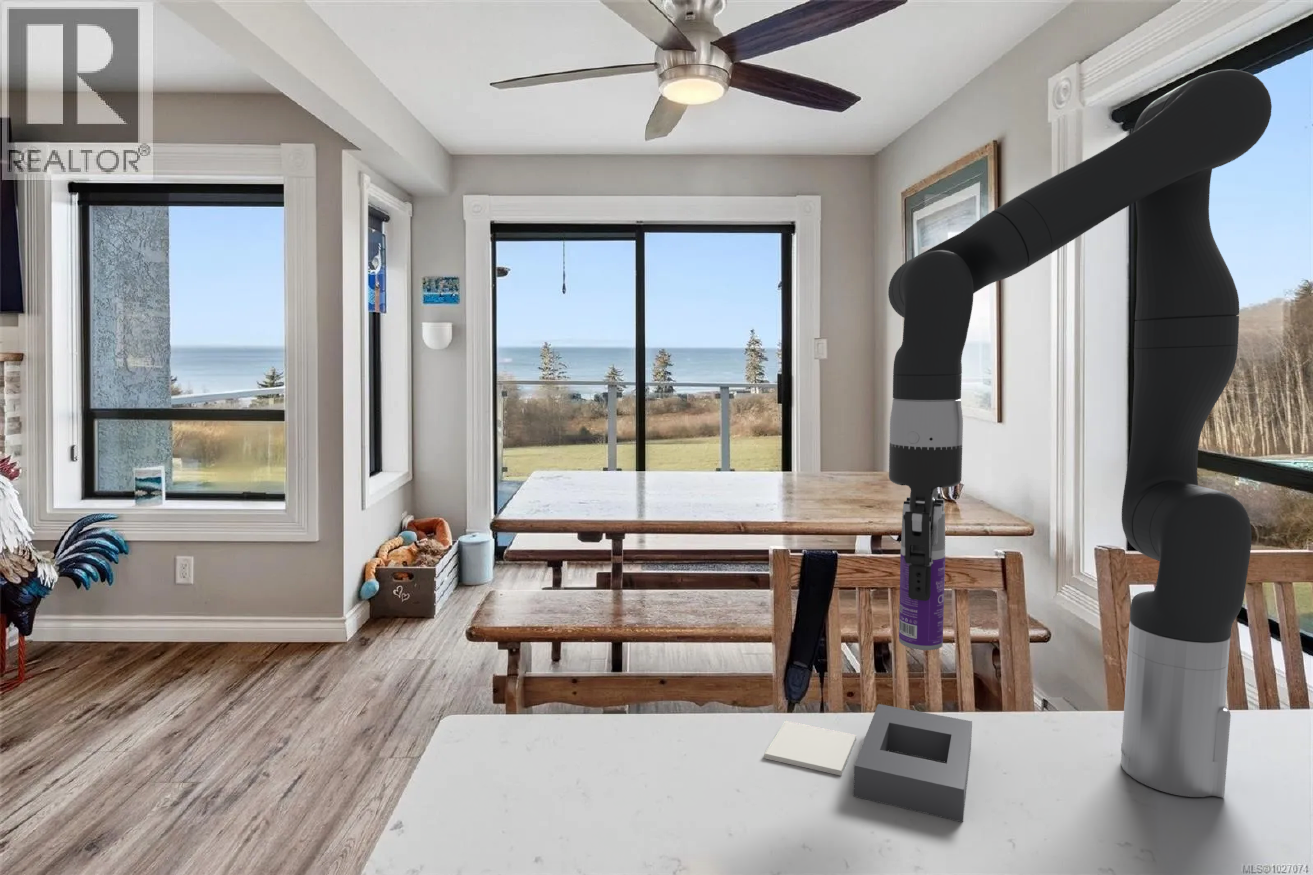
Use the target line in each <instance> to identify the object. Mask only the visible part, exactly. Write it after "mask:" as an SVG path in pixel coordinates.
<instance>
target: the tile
mask: <svg viewBox="0 0 1313 875" xmlns="http://www.w3.org/2000/svg"><path fill="white" fill-rule="evenodd" d="M856 741H857V734H853V733H849V732H845V731H839V730H833V729H829V728H823V727H819V726H814V725H809V724H804V723H800V722H795V721H790V720H784V722H783V724H782V725H781V727H780V728H779V730H778V732H777V733H776V735H775V737H774V738H773V740H772V741H771V743H770V745H769V746H768V747H767V749H766V750H765V752H764V759H767V760H771V761H776V762H780V763H784V764H788V765H792V766H797V767H801V768H807V769H811V770H814V771H819V772H824V773H828V774H831V775H832V774H833V775H836V776H842V775H843V773H844V771H845V767H846V765H847V763H848V760H849V758H850V756H851V754H852V751H853V748H854V746H855V743H856Z"/></svg>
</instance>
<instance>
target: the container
mask: <svg viewBox="0 0 1313 875" xmlns="http://www.w3.org/2000/svg"><path fill="white" fill-rule="evenodd" d="M901 517H902V518H901V520H902V521H901V537H900V538H901V541H900V565H899V571H900V572H899V611H898V612H899V613H898V614H899V615H898V617H899V618H898V620H899V621H898V623H899V624H898V641H899V643H900V644H901V645H902V646H905V647H907V648H910V649H913V650H919V651H935V650H939V649H940V648H942V647H943V645H944V644H943V643H944V616H945V615H944V614H945V613H944V612H945V611H944V610H945V609H944V608H945V585H946V584H945V582H946V581H945V578H946V574H945V573H946V512H945V510H944V511H942V518H941V519H940V520H939V534H938V544H937V545H935V546H934V547H933V554H932V559H933V564H932V567H931V594H930V598H929V600H927V601H922V600H914V599H911V598H910V597H909V595H908V590H909V565H908V564H907V563H905V560H904V555H905V540H904V527H905V520H904V515H903V513H902V516H901ZM933 517H934V515H933ZM932 534H933V524H932V530H931V535H932ZM913 553H924V554H925V548H924V547H923V546H918V545H914V552H913Z"/></svg>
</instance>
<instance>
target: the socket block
mask: <svg viewBox="0 0 1313 875" xmlns="http://www.w3.org/2000/svg"><path fill="white" fill-rule="evenodd" d="M972 731H973V720H967V719H963V718H956V717H951V716H946V715H940V714H934V713H928V712H923V711H918V710H913V709H908V708H907V709H906V708H902V707H896V706H892V705H885V704H881V703H878V704H877V706H876V709H875V711H874V713H873V716H872V719H871V721H870V724H869V726H868V729H867V732H866V734H865V736H864V739H863V742H862V744H861V747H860V749H859V752H858V753H857V754H858V755H857V757H856V760H855V762H854V764H853V789H852V790H853V793H852V794H853V795H852V796H853V797H856V798H860V799H862V800H863V799H864V800H868V801H871V802H875V803H880V804H884V805H890V806H894V807H897V808H901V809H904V810H905V809H906V810H911V811H915V812H919V813H923V814H927V815H932V816H934V817H935V816H936V817H939V818H943V819H949V820H951V821H952V820H953V821H957V822H960V823H963V822H964V814H965V806H966V798H967V787H968V781H969V780H968V778H969V770H970V769H969V768H970V761H971V752H972Z"/></svg>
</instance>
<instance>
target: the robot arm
mask: <svg viewBox="0 0 1313 875" xmlns="http://www.w3.org/2000/svg"><path fill="white" fill-rule="evenodd" d="M1272 107H1273V106H1272V98H1271V94H1270V92H1269V90H1268V88H1267V87H1266V85H1265V84H1264V83H1263V82H1262V81H1261V79H1259V78H1258V77H1257V76H1256V75H1254V74H1252V73H1250V72H1249V71H1243V70H1240V69H1231V68H1230V69H1220V70H1215V71H1211V72H1208V73H1207V72H1206V73H1204V74H1201V75H1198V76H1196V77H1195V78H1192V79H1191V80H1188V81H1186V82H1185V83H1182V84H1181V85H1179V86H1177V87H1175V88H1173V89H1172V90H1170V91H1168V92H1167V93H1165V94H1162V96H1159V97H1158V98H1156V99H1155V100H1153V101H1152V102H1151V103H1150V104H1148V106H1146V108H1145V109H1144V110H1143V111H1142V112H1141V113H1140V115H1139V116H1138V118H1137V120H1136V122H1135V125H1134V128H1133V131H1132V132H1130V134H1128V135H1127V136H1124V137H1123V138H1122V139H1120V140H1119V141H1117V142H1115V143H1114V144H1111V145H1110V146H1109V147H1107V148H1105V149H1103V150H1102V151H1100V152H1098V153H1096V154H1095V155H1094V154H1093V156H1091V157H1089V158H1087V159H1085V160H1083V161H1081V162H1079V163H1077V164H1075V165H1073V166H1071V167H1070V168H1068V169H1067V168H1066V170H1064V171H1063V170H1062V172H1060V173H1058V174H1056V175H1054V176H1052V177H1050V178H1048V179H1046V180H1044V181H1042V182H1040V183H1038V184H1036V185H1034V186H1033V187H1031V188H1029V189H1028V190H1026V191H1024V192H1023V193H1022V192H1021V193H1019V195H1017V196H1015V197H1014V198H1012V199H1010V200H1008V201H1007V202H1005V203H1004V204H1002V205H1000V206H999V207H997V208H996V209H994V210H992V211H991V212H989V213H987V214H985V215H984V216H983V217H981V218H980V219H978V220H977V221H975V223H973V224H972V225H970V226H969V227H967V228H966V229H965V230H963V231H961V232H960V233H958V234H955V235H954V236H952V237H949V238H948V239H946V240H944V241H941V242H940V243H938V244H937V245H935V246H934V245H933V247H931V248H929V249H927V250H925V251H923V252H922V253H920V254H918V255H916V256H914V257H912V258H911V259H909V260H907V261H905V262H904V263H903V264H901V265H900V266H899V267H898V268H897V269H896V271H895V272H893V273H894V274H893V275H892V277H891V279H890V281H889V285H888V291H887V292H888V294H887V296H888V300H889V304H890V306H891V307H892V308H893V310H894V312H896V313H897V315H899V316H900V317H902V318H903V330H902V331H903V332H902V343H901V346H900V347H899V348H898V349H897V350H896V353H895V356H894V360H893V369H892V370H893V371H892V404H891V411H890V417H889V450H888V452H889V454H888V457H889V459H888V479H889V481H891V483H893V484H895V485H899V486H907V487H908V488H909V489H910V495H909V496H907V497H906V500H903V506H902V514H903V515H904V520H905V527H904V540H905V555H904V560H905V563H907V564H908V565H909V590H908V595H909V597H910V598H911V599H914V600H922V601H927V600H929V598H930V594H931V567H932V564H933V559H932V554H933V547H934V546H935V545H937V544H938V534H939V520H940V519H941V518H942V511H944V512H945V498H944V499H943V496H942V493H939V490H938V489H939V488H941V489H943V488H952V487H956V486H958V485H960V484H961V482H962V475H963V474H962V471H963V470H962V469H963V467H962V466H963V464H962V463H963V441H964V440H963V438H964V437H963V434H964V433H963V432H964V418H963V416H964V415H963V409H962V408H963V407H962V374H963V372H962V371H963V366H962V365H963V364H962V357H963V351H964V348H965V344H966V341H967V337H968V332H969V328H970V323H971V322H970V321H971V318H972V312H973V305H974V294H975V293H977V292H979V291H981V290H982V289H984V288H985V287H987V286H989V285H991V284H994V283H997V282H999V281H1002V280H1005V279H1007V278H1010V277H1012V276H1015V275H1016V274H1018V273H1021V272H1022V271H1023V270H1025V269H1028V268H1029V267H1031V266H1032V265H1034V264H1035V263H1038V262H1039V261H1041V260H1042V259H1044V258H1046V257H1047V256H1049V255H1050V254H1052V253H1054V252H1055V251H1058V250H1059V249H1061V248H1062V247H1064V246H1066V245H1067V244H1068V243H1071V242H1072V241H1074V240H1075V239H1076V238H1078V237H1080V236H1081V235H1084V234H1085V233H1086V232H1088V231H1089V230H1091V229H1093V228H1094V227H1097V225H1100V224H1101V223H1103V222H1104V221H1105V220H1107V219H1109V218H1110V217H1112V216H1114V215H1115V214H1117V213H1118V212H1121V211H1122V210H1124V209H1125V208H1128V207H1129V206H1130V205H1133V204H1134V203H1135V208H1136V220H1137V221H1136V222H1137V248H1136V249H1137V250H1136V298H1135V299H1136V300H1135V301H1136V302H1135V313H1134V320H1135V321H1134V338H1133V339H1134V342H1133V347H1134V348H1133V360H1134V363H1133V364H1134V366H1133V367H1134V373H1133V374H1134V377H1133V379H1134V380H1133V395H1132V396H1133V398H1132V419H1131V421H1132V423H1131V425H1132V426H1131V438H1130V448H1129V449H1130V450H1129V454H1128V456H1129V457H1128V462H1127V468H1126V475H1125V482H1124V487H1123V488H1124V489H1123V496H1122V502H1121V524H1122V525H1121V526H1122V530H1123V533H1124V535H1125V538H1126V540H1127V541H1128V543H1129V544H1130V546H1131V547H1133V548H1134V549H1135V550H1136V551H1137V552H1139V553H1141V554H1142V555H1144V556H1146V557H1148V558H1150V559H1153V560H1155V561H1157V562H1158V563H1159V565H1158V572H1157V578H1156V583H1155V584H1156V585H1155V589H1154V590H1148V591H1143V592H1139V593H1138V594H1136V595H1135V596H1133V598H1132V600H1131V603H1130V612H1129V614H1130V615H1129V625H1128V626H1129V627H1128V638H1127V639H1128V643H1127V645H1128V646H1127V658H1126V659H1127V660H1126V671H1125V672H1126V673H1125V675H1126V676H1125V690H1124V702H1123V705H1124V707H1123V718H1122V720H1123V721H1122V723H1123V724H1122V736H1121V737H1122V738H1121V739H1122V740H1121V743H1120V744H1121V745H1120V746H1121V748H1120V753H1121V756H1120V765H1121V768H1122V770H1123V771H1124V772H1125V774H1127V775H1128V776H1130V777H1131V778H1133V779H1134V780H1135V781H1137V782H1139V783H1141V784H1142V785H1145V786H1147V787H1149V788H1152V789H1155V790H1157V791H1161V792H1164V793H1167V794H1171V795H1175V796H1180V797H1187V798H1188V797H1189V798H1204V797H1217V798H1225V792H1226V782H1227V780H1226V779H1227V766H1228V754H1229V744H1230V743H1229V741H1230V728H1231V717H1232V716H1231V712H1230V709H1229V708H1228V706H1227V704H1226V701H1227V700H1226V699H1227V687H1228V674H1229V673H1228V672H1229V661H1230V649H1231V648H1230V646H1231V636H1232V629H1233V628H1232V627H1233V623H1234V622H1235V620H1236V618H1237V617H1238V615H1239V614H1240V611H1241V609H1242V607H1243V603H1244V600H1245V599H1244V598H1245V592H1246V587H1247V586H1246V584H1247V578H1248V571H1249V566H1250V558H1251V557H1250V556H1251V550H1252V540H1253V539H1252V526H1251V521H1250V517H1249V514H1248V512H1247V510H1246V508H1245V507H1244V504H1242V503H1241V502H1240V500H1238V499H1237V498H1235V497H1234V496H1233V495H1230V494H1229V493H1226V492H1224V491H1220V490H1217V489H1214V488H1210V487H1209V488H1208V487H1205V486H1201V485H1199V482H1198V460H1199V458H1198V457H1199V446H1200V445H1199V444H1200V439H1201V435H1202V431H1203V429H1204V428H1203V427H1204V426H1205V423H1206V421H1207V419H1208V418H1209V417H1210V416H1209V415H1210V413H1211V412H1212V410H1213V408H1214V407H1215V405H1216V404H1217V402H1218V400H1219V399H1220V397H1221V395H1222V394H1223V392H1224V390H1225V388H1226V386H1227V384H1228V382H1229V381H1230V379H1231V376H1232V374H1233V372H1234V368H1235V366H1236V362H1237V357H1238V350H1239V346H1238V345H1239V329H1240V316H1239V315H1240V300H1239V299H1240V298H1239V293H1238V290H1237V287H1236V284H1235V281H1234V278H1233V276H1232V273H1231V271H1230V270H1229V267H1228V265H1227V264H1226V261H1225V260H1224V257H1223V255H1222V254H1221V252H1220V249H1219V247H1218V245H1217V243H1216V240H1215V238H1214V235H1213V232H1212V227H1211V222H1210V193H1211V191H1210V189H1211V177H1212V172H1213V170H1214V169H1216V168H1220V167H1222V166H1224V165H1226V164H1229V163H1231V162H1233V161H1235V160H1237V159H1238V158H1240V157H1242V156H1243V155H1244V154H1246V153H1247V152H1248V151H1250V149H1252V148H1253V147H1254V146H1255V145H1256V144H1257V143H1258V142H1259V140H1260V139H1261V138H1262V136H1263V135H1264V134H1265V131H1266V130H1267V128H1268V126H1269V124H1270V123H1269V122H1270V120H1271V117H1272ZM933 515H934V517H933ZM932 524H933V534H932V535H931V530H932ZM914 545H918V546H923V547H924V548H925V554H924V553H913V552H914Z"/></svg>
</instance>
